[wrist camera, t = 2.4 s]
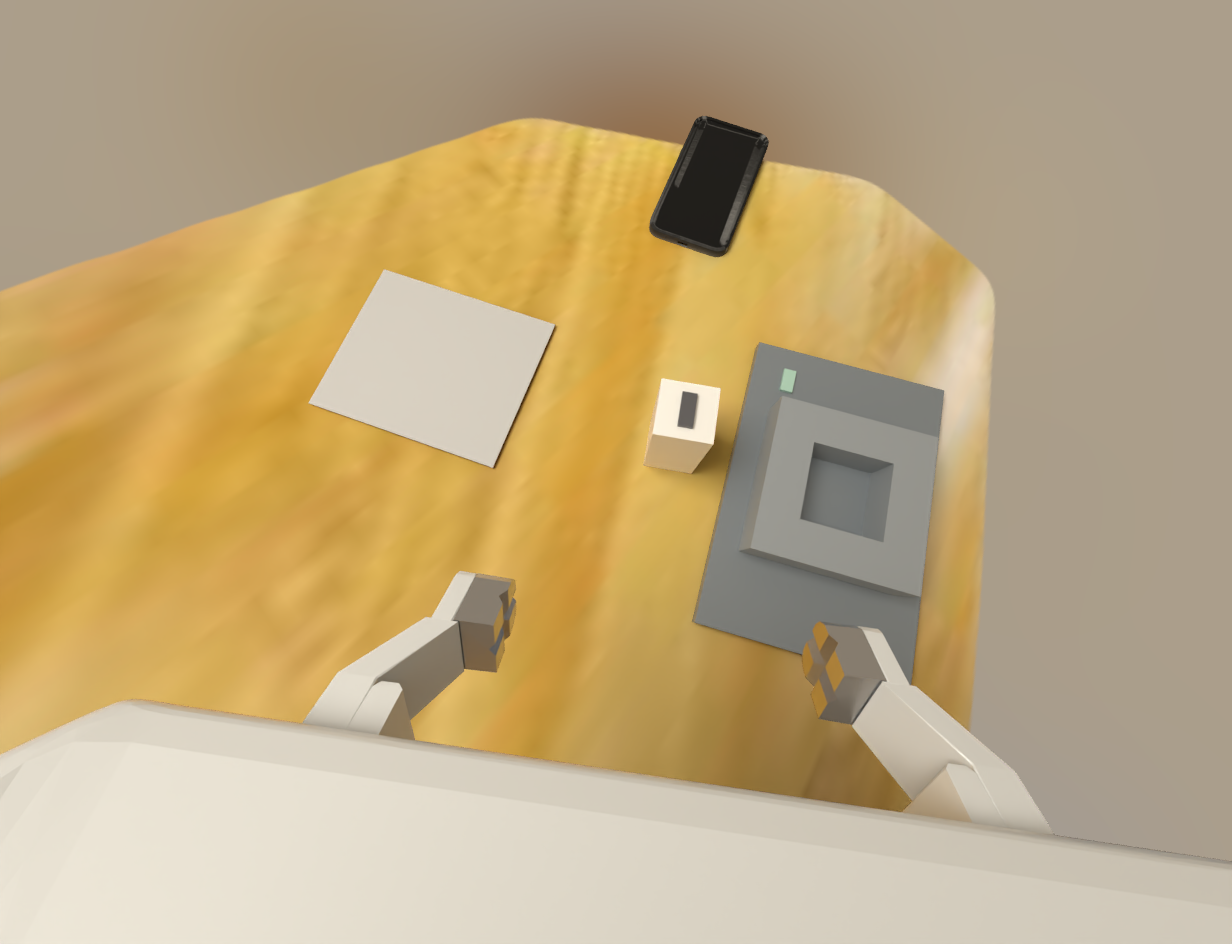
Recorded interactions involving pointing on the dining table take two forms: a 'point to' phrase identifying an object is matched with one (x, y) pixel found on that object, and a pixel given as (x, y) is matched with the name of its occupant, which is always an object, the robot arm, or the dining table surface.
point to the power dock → (823, 505)
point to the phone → (709, 186)
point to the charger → (681, 425)
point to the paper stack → (435, 367)
